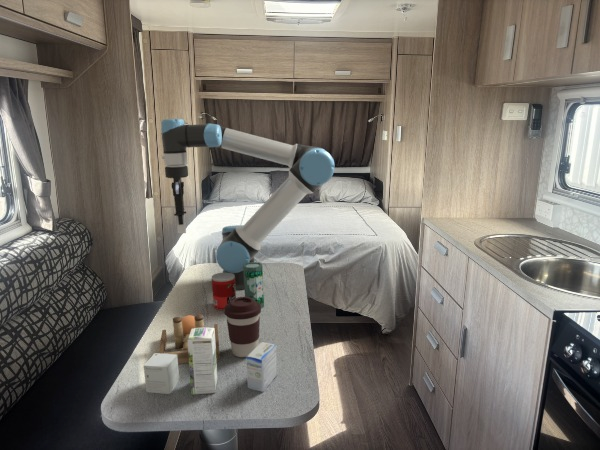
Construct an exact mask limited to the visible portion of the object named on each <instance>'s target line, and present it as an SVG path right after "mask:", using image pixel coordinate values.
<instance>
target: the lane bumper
mask: <svg viewBox="0 0 600 450" xmlns="http://www.w3.org/2000/svg"><path fill="white" fill-rule="evenodd" d="M218 327H219V325H218V323H214V324H213V328H215V344H216V360H218V359H221V354H220V338H219V328H218ZM167 336H168V335H167V329H162V331H161V337H160V340H159V346H158V352H157V353H160V354H163V353H166V354H177V357H178V365H179V364H186V363H188V364H189V355H188V350H184V351H182V350H176V351H168V352H165V351H166V346H167V341H168V340H167V339H168V337H167Z"/></svg>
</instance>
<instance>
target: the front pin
mask: <svg viewBox="0 0 600 450" xmlns="http://www.w3.org/2000/svg"><path fill="white" fill-rule="evenodd" d="M189 335H190V334H187V335H184V337H183V339H184V344H183V348H182V349H181V351H184V350H188V338H189Z"/></svg>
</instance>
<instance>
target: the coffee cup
mask: <svg viewBox="0 0 600 450" xmlns="http://www.w3.org/2000/svg"><path fill="white" fill-rule="evenodd" d="M223 312H224V315H225V316H226V318H227V319H226V324H227V325H226V326H227V332H228V339H229V341H230V345H231V346H230V347H231V353H232V354H233V355H234V356H235V357H238V358H246V357H247V356H248V355H249V354H250V353H251V352H252V351H253V350H254V349H255V348H256V347H257V346H258V345H259V338H260V325H261V324H260V322H261V320H260V314H261V312H262V308H261V305H260V303H258V302H256V301H255V300H254V299H253V298H251V297H245V296H240V297H236V298H234V299H232V300H231V301H230V303H229V304H227V305H226V306H225V308H224V310H223Z"/></svg>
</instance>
